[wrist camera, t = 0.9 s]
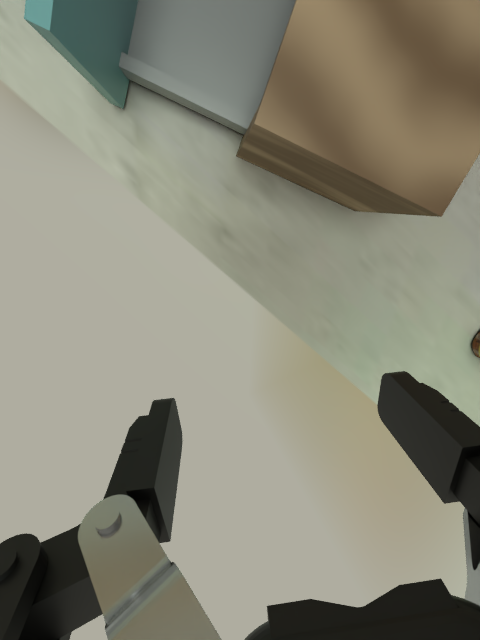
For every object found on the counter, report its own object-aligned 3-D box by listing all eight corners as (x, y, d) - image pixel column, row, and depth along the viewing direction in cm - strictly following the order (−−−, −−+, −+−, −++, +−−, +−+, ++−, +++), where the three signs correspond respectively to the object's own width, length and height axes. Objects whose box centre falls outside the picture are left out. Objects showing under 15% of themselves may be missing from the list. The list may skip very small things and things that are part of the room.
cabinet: (302, -40, 25) (394, -286, 12) (435, 49, 28) (615, -74, 15) (236, 156, 30) (254, 123, 17) (355, 211, 33) (441, 216, 21)
